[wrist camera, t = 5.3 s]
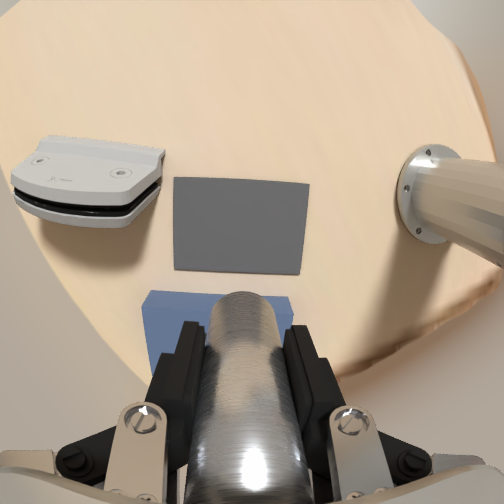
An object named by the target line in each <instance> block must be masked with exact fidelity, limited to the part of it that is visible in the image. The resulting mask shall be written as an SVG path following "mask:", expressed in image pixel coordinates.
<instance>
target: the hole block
mask: <svg viewBox="0 0 504 504" xmlns="http://www.w3.org/2000/svg"><path fill="white" fill-rule="evenodd" d="M224 296H225V295H222V294H202V293H185V292H169V291H155V290H151V291H150V293H149V295H148V296H147V298H146V300H145V301H144V303H143V305H142V306H141V307H142V315H143V323H144V330H145V336H146V343H147V349H148V355H149V361H150V366H151V371H152V376H153V374H154V371H155V368H156V366H157V363H158V360H159V357H160V355H161V353H162V352H163V353H173V354H174V352H175V349H176V346H177V342H178V339H179V336H180V333H181V329H182V326H183V323H184V321H196V322H199V326H205V333H207V330H208V324H209V318H210V313H211V310H212V308H213V306H214V305H215V303H216V302H217V301H218V300H219V299H221V298H222V297H224ZM262 297H263V298H265V299H266V300H267V301H268V302H269V303H270V304H271V306H272V308H273V310H274V313H275V317H276V321H277V326H278V331H279V335H280V340H281V344H282V348H283V342H284V335H285V330H286V329H290V327H291V325H292V322H293V315H294V314H293V311H292V308H291V305H290V302H289V299H288V297H277V296H262Z"/></svg>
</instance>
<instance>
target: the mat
mask: <svg viewBox="0 0 504 504" xmlns="http://www.w3.org/2000/svg"><path fill="white" fill-rule="evenodd" d="M309 186H310V184H303V183H292V182H279V181H265V180H249V179H229V178H200V177H174V189H173V247H174V269H187V270H207V271H229V272H252V273H278V274H300V269H301V261H302V252H303V244H304V235H305V226H306V217H307V207H308V197H309Z"/></svg>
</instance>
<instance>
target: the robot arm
mask: <svg viewBox="0 0 504 504" xmlns="http://www.w3.org/2000/svg"><path fill="white" fill-rule="evenodd" d="M397 201H398V208H399V212H400V215H401V219H402V221H403V223H404V225H405V227H406V228H407V229H408V231H409V232H410V233H411V234H412V235H413V236H414V237H415V238H417V239H419V240H421V241H422V242H425V243H428V244H440V243H444V242H446V241H448V240H449V241H451V242H453V243H455V244H457V245H459V246H461V247H463V248H465V249H467V250H469V251H471V252H473V253H475V254H477V255H479V256H480V257H482V258H484V259H486V260H488V261H490V262H492V263H493V264H495V265H497V266H499V267H501V268H502V269H504V164H501V163H494V162H487V161H479V160H470V159H461V157H460V156H459V155H458V154H457V153H456V152H455V151H454V150H452V149H451V148H449V147H447V146H445V145H440V144H429V145H425V146H422V147H420V148H419V149H417V150H416V151H415V152H413V153H412V154H411V155H410V157H409V158H408V159H407V161H406V163H405V165H404V167H403V169H402V171H401V174H400V177H399V182H398V189H397ZM282 349H283V354H284V358H285V363H286V368H287V372H288V377H289V382H290V386H291V391H292V396H293V400H294V405H295V410H296V415H297V419H298V424H299V428H300V433H301V438H302V443H303V448H304V452H305V457H306V462H307V467H308V472H309V477H310V482H311V487H312V492H313V497H314V501H315V504H504V474H503V473H502V472H501V471H500V470H499V469H497V468H496V467H493V466H490V465H486V464H485V462H484V461H483V459H482V458H480V457H478V456H474V455H450V454H449V455H448V454H435V453H434V454H433V455H432V456H429V454H428V453H426V451H424V450H422V449H421V448H418V447H415V446H413V445H411V444H408V443H406V442H403V441H401V440H399V439H396V438H394V437H391V436H389V435H387V434H384V433H382V432H380V431H378V430H377V428H376V425H375V422H374V419H373V417H372V416H371V414H370V413H369V412H368V411H366V410H364V409H363V408H361V407H357V406H351V405H347V406H346V404H345V401H344V399H343V396H342V394H341V392H340V388H339V386H338V383H337V381H336V378H335V376H334V373H333V371H332V369H331V366H330V364H329V361H328V359H327V358H319V357H318V355H317V352H316V349H315V347H314V344H313V341H312V339H311V336H310V333H309V331H308V328H307V326H306V325H291V327H290V329H286V330H285V335H284V342H283V348H282ZM204 351H205V326H199V322H196V321H184V323H183V326H182V329H181V333H180V336H179V339H178V342H177V346H176V349H175V352H174V354H173V353H163V352H162V353H161V355H160V357H159V360H158V363H157V366H156V368H155V371H154V374H153V377H152V380H151V383H150V386H149V389H148V392H147V395H146V398H145V401H144V402H136V403H133V404H130V405H128V406H127V407H125V408H124V409H123V410H122V411H121V413H120V415H119V419H118V423H117V425H116V426H114V427H112V428H109V429H107V430H104V431H102V432H99V433H97V434H95V435H92V436H90V437H87V438H84V439H82V440H80V441H77V442H74V443H71V444H69V445H66V446H65V447H63V448H62V449H61V450H60V451H59V452H56V453H54V452H53V451H52V450H32V451H31V450H26V451H25V450H6V451H3V452H1V453H0V504H180V497H179V474H180V470H179V468H181V467H182V466H184V465H186V464H188V459H189V451H190V443H191V436H192V429H193V425H194V418H195V411H196V404H197V397H198V390H199V383H200V376H201V370H202V363H203V357H204Z"/></svg>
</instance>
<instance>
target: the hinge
mask: <svg viewBox="0 0 504 504" xmlns="http://www.w3.org/2000/svg"><path fill="white" fill-rule="evenodd" d="M164 155H165V149H159V148H153V147H147V146H141V145H134V144H127V143H120V142H113V141H105V140H96V139H87V138H77V137H66V136H54V135H48V136H47V137H45V138H43V139H41V140H40V142H39V145H38V147H37V150H36V151H35V152H34V153H33V154H31V155H30V156H29V157H28V158H26V159H25V160H24V161H22V162H21V163H20V164H19V165H18V166H16V167H15V168H14V169H13V170H12V171H11V184H12V185H13V186H14V187H15V188H14V191H13V196H14V199H15V201H16V204H17V205H18V206H20V207H21V208H22V209H24V210H25V211H27V212H29V213H30V214H32V215H35V216H37V217H39V218H42V219H45V220H48V221H52V222H56V223H61V224H65V225H72V226H80V227H91V228H123V227H126V226H128V225H129V224H130V223H131V222H132V221H133V220H134V219H135V218H136V217H137V216H138V215H139V214H140V213H141V212H142V211H143V210H144V209H145V208H146V207H147V206H148V205H149V204H150V203H151V202H152V201H153V200H154V199H155V198H156V197H157V196H158V193H159V191H160V188H161V186H158V183H154V182H156V181H157V180H158V178H159V177H160V176H162V166H161V158H162V157H163V156H164Z"/></svg>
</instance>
